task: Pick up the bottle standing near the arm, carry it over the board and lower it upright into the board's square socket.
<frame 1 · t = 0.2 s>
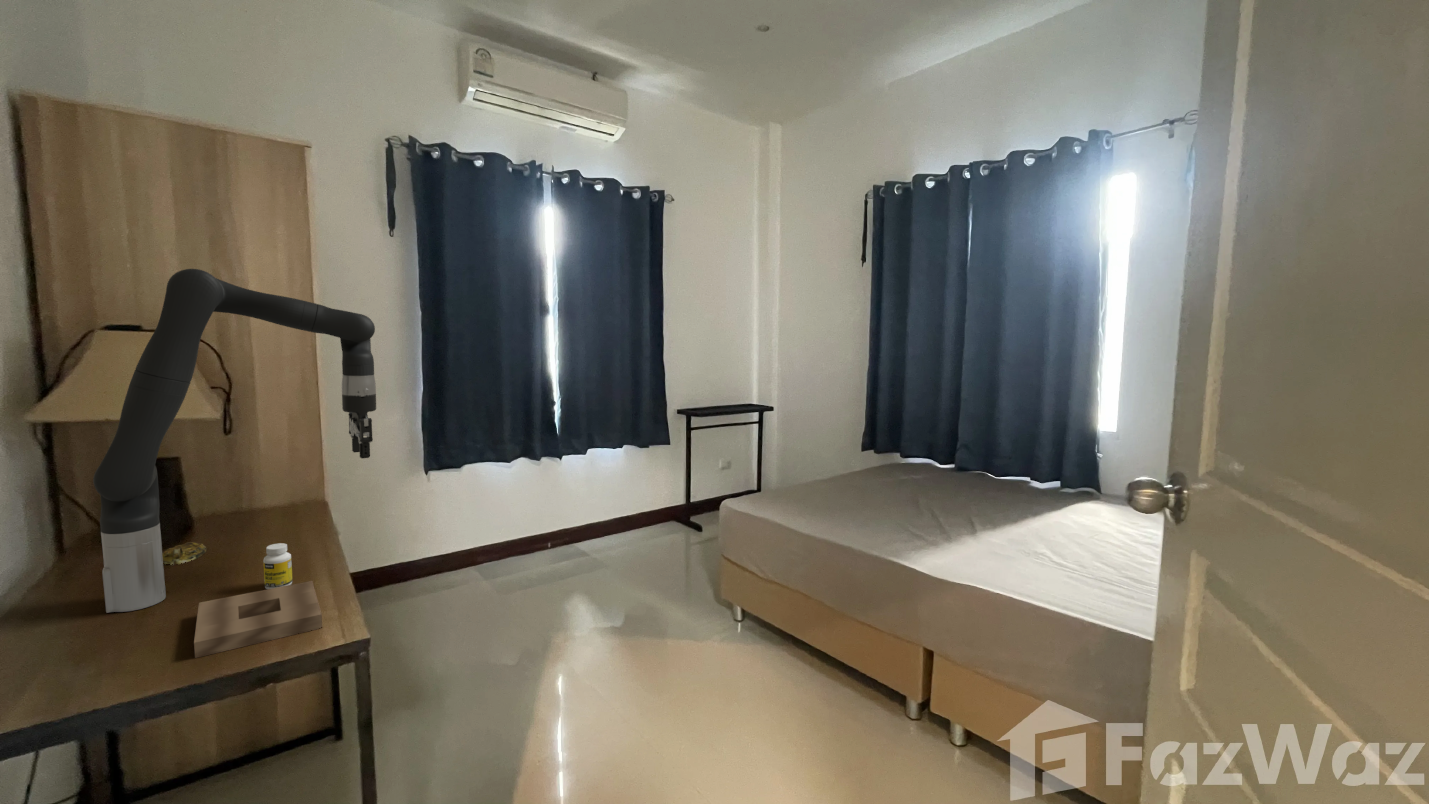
hand: (361, 454, 157), 28 cm above the table, tool pointing down, fingers open, 8 cm apart
noodle cake: (183, 557, 161), on the table
supplement bottle: (278, 586, 144), on the table
socket board: (260, 621, 127), on the table
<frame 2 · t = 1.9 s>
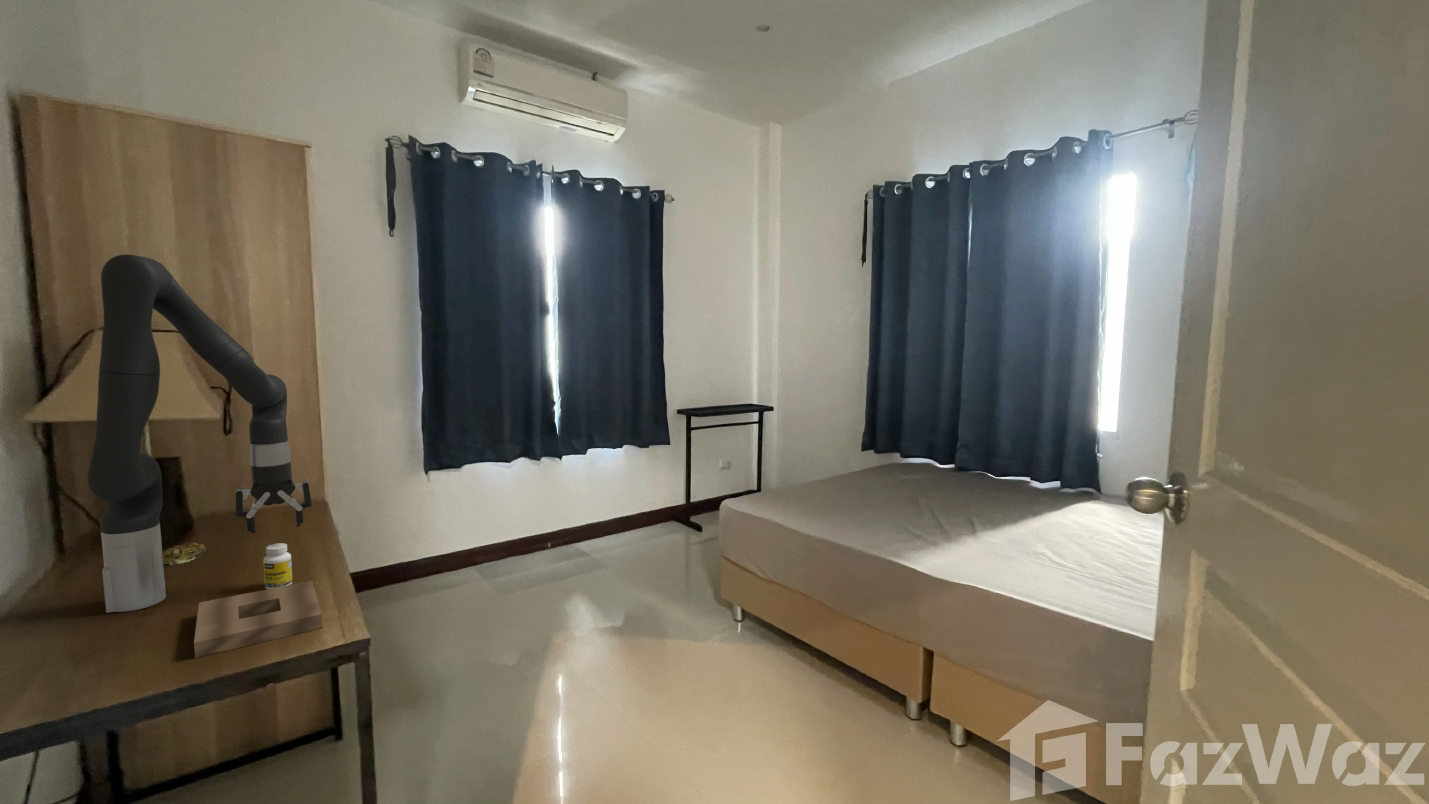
hand: (276, 529, 142), 14 cm above the table, tool pointing down, fingers open, 8 cm apart
nothing on the table moved.
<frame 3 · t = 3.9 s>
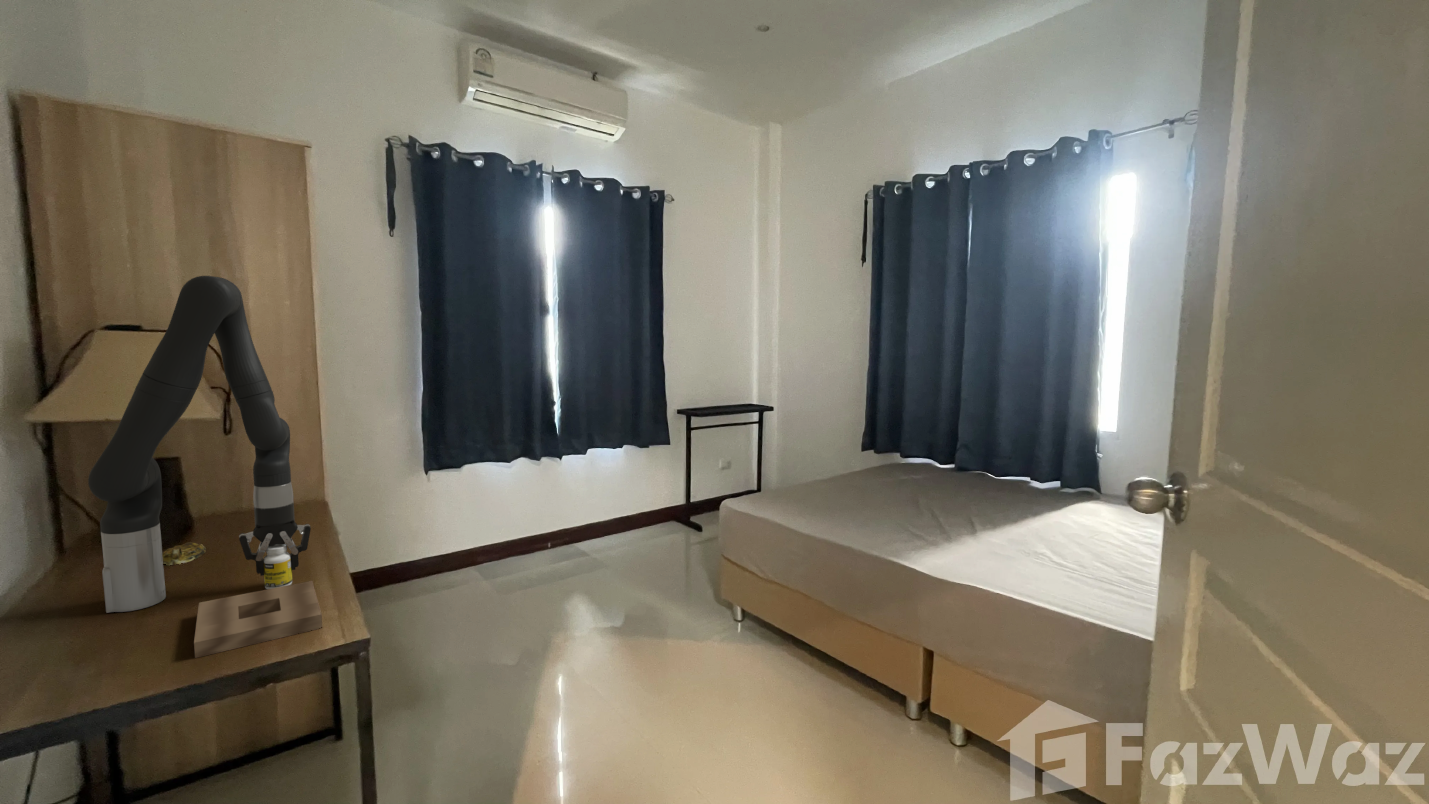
hand: (278, 571, 144), 4 cm above the table, tool pointing down, fingers closed on supplement bottle, 5 cm apart
supplement bottle: (278, 586, 144), on the table, touching gripper
everything else where it was.
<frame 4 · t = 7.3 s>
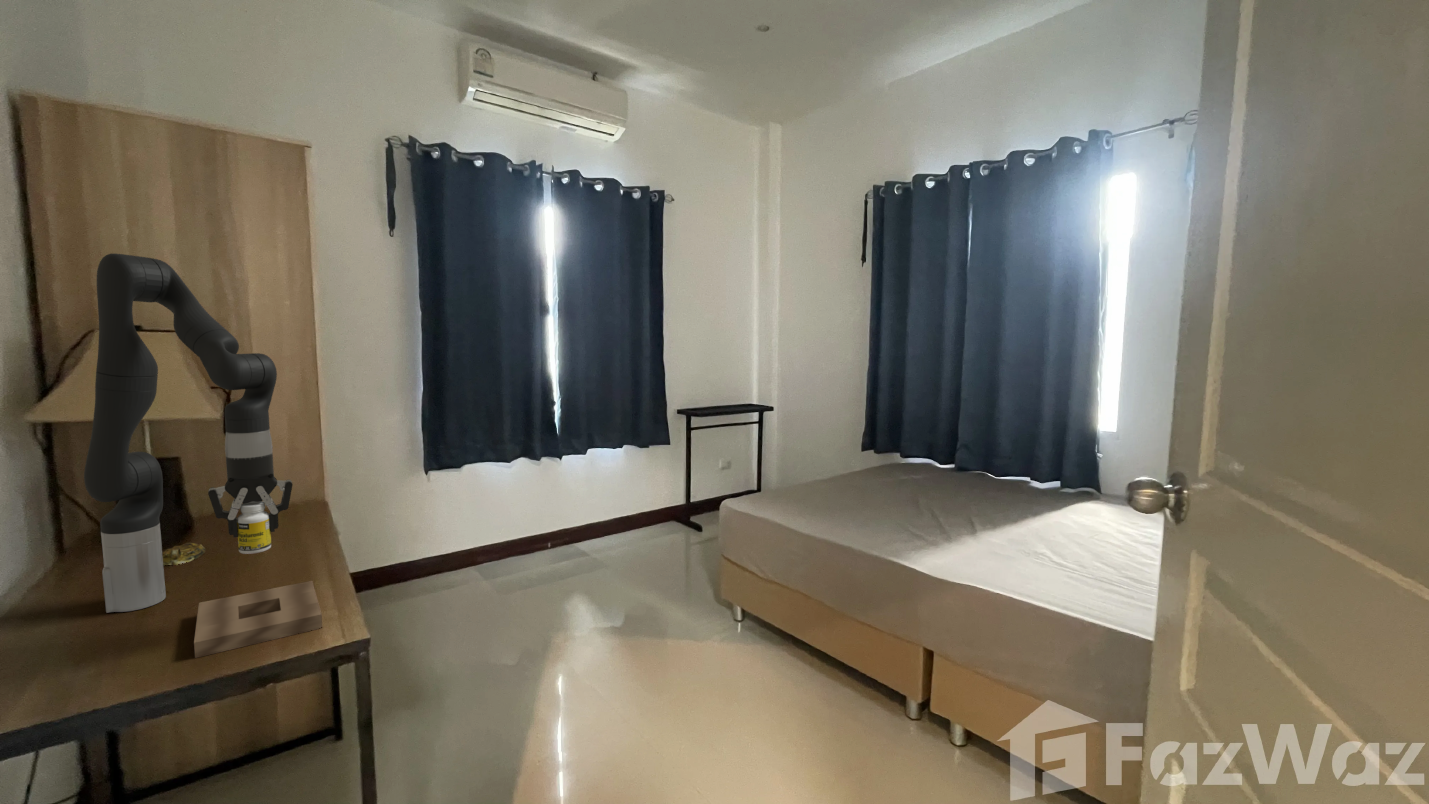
hand: (254, 533, 125), 19 cm above the table, tool pointing down, fingers closed on supplement bottle, 5 cm apart
supplement bottle: (255, 550, 125), point 15 cm above the table, touching gripper
everything else where it was.
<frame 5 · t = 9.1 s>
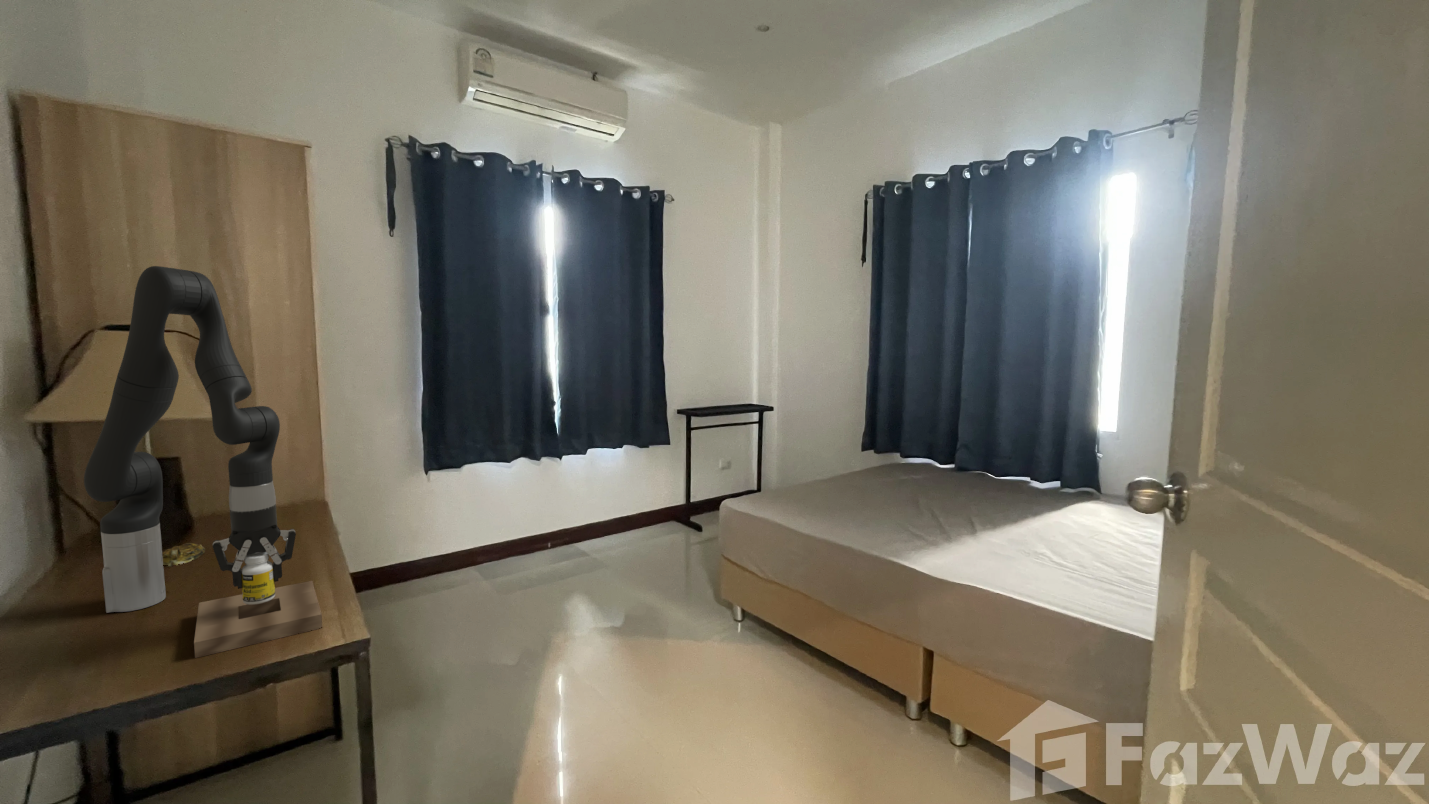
hand: (258, 583, 126), 8 cm above the table, tool pointing down, fingers closed on supplement bottle, 5 cm apart
supplement bottle: (259, 600, 126), point 5 cm above the table, touching gripper
everything else where it was.
when the fingers open (5 cm above the table, at t = 10.7 s): supplement bottle drops 2 cm, resting in socket board.
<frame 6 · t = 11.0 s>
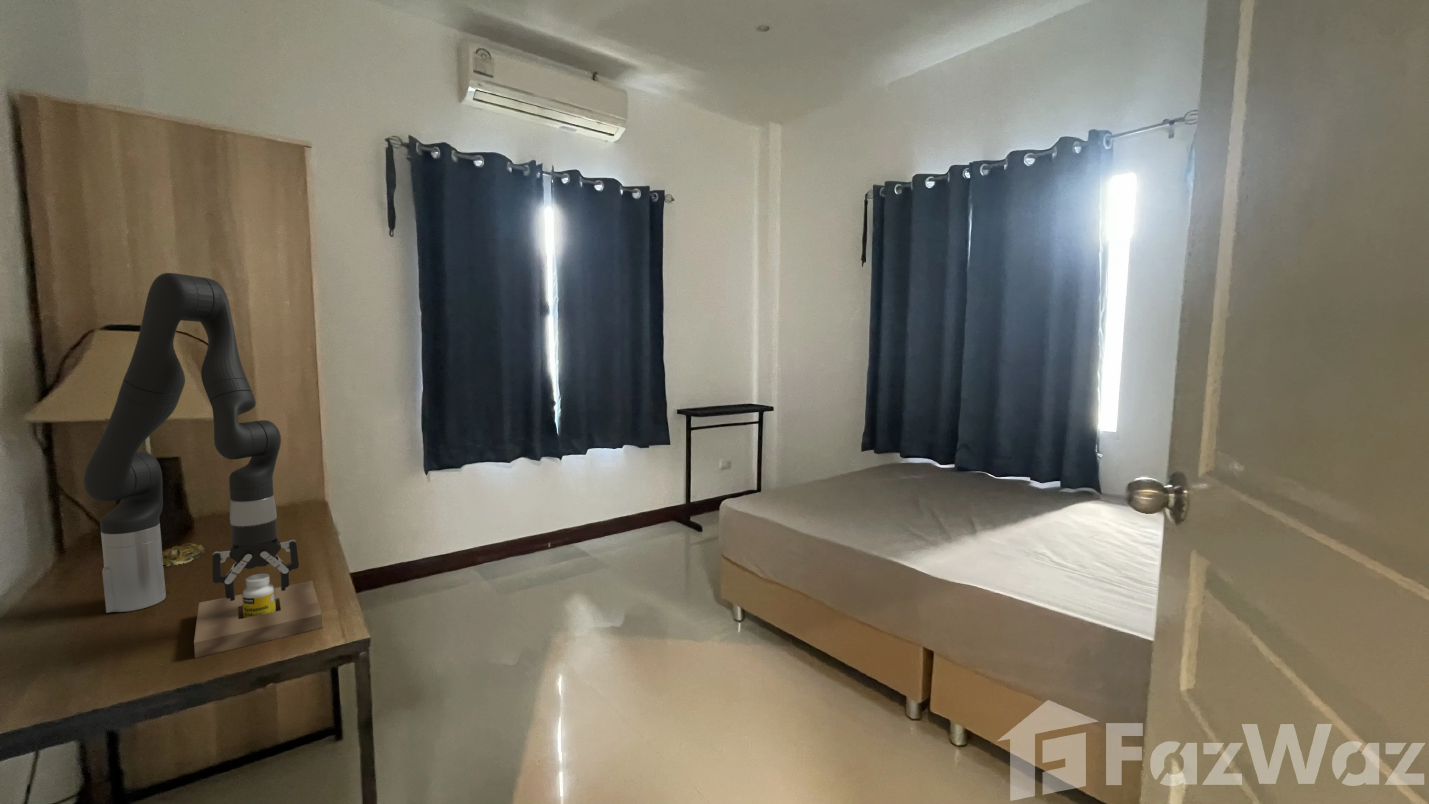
hand: (258, 594, 126), 6 cm above the table, tool pointing down, fingers open, 8 cm apart
supplement bottle: (260, 622, 127), resting in socket board
everything else where it was.
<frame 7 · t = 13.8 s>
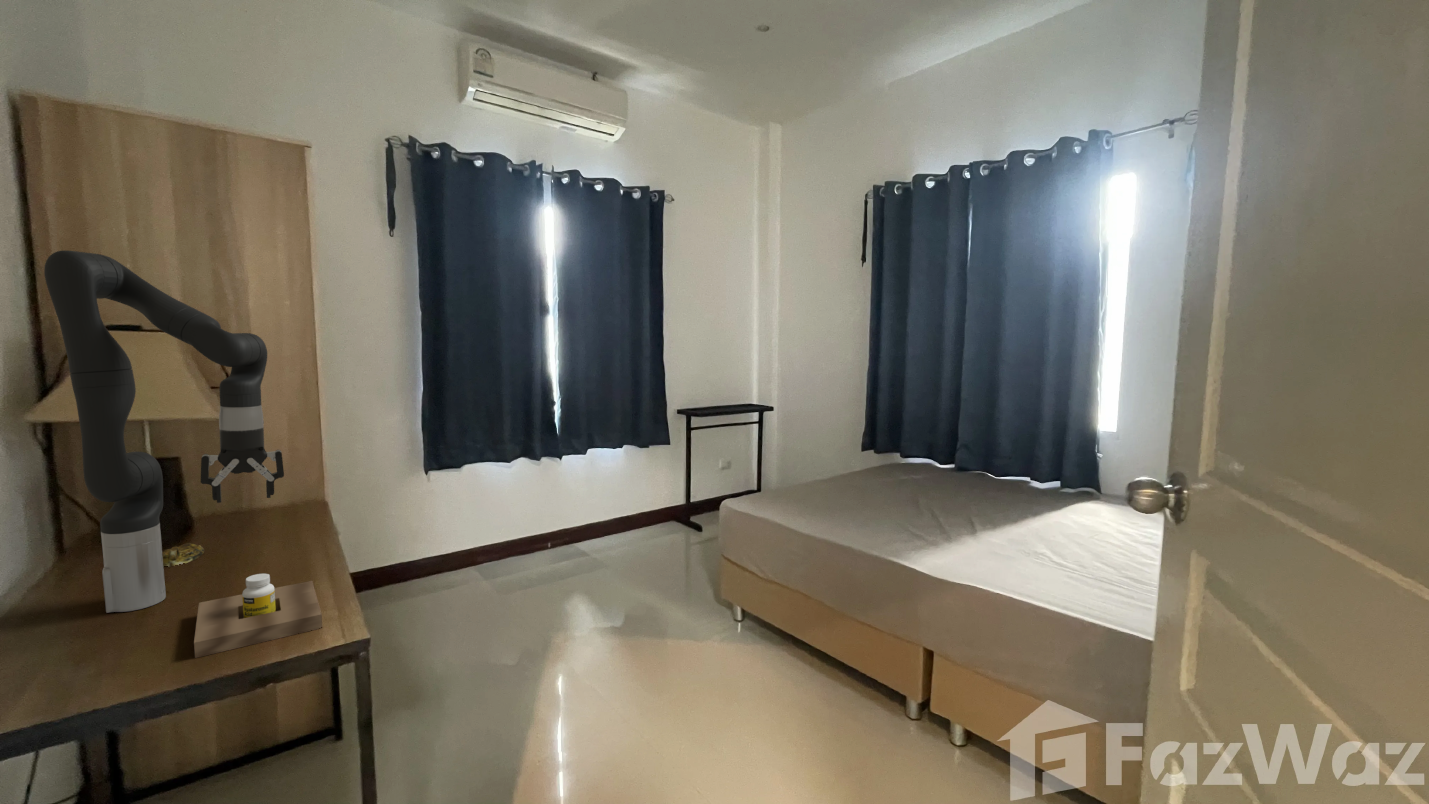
hand: (244, 499, 133), 24 cm above the table, tool pointing down, fingers open, 8 cm apart
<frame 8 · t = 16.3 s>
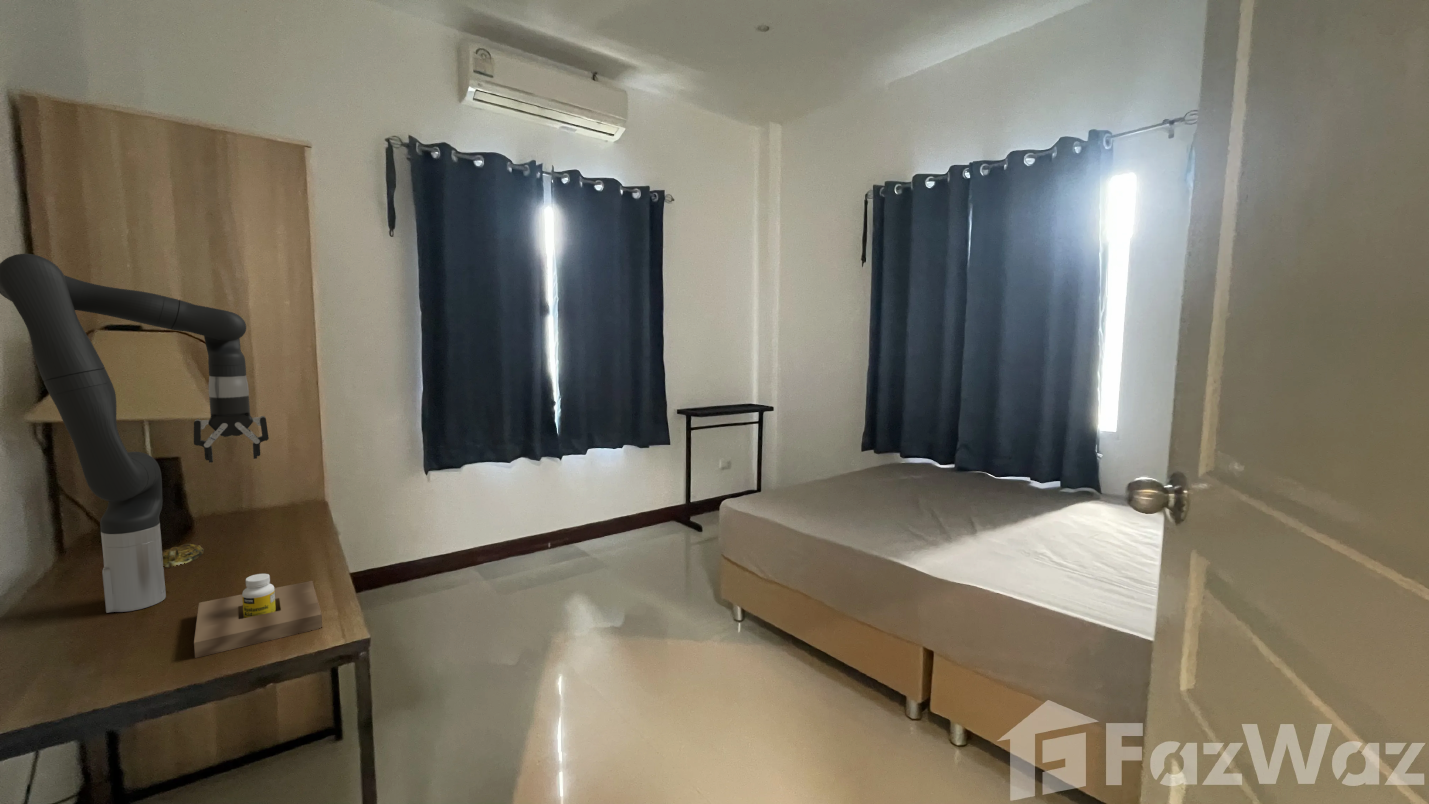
hand: (233, 460, 149), 28 cm above the table, tool pointing down, fingers open, 8 cm apart
at the end: supplement bottle 0.1 cm off-centre on the socket board, point 0.0 cm above the socket board's base; supplement bottle tilted 0°; the gripper is holding nothing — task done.
